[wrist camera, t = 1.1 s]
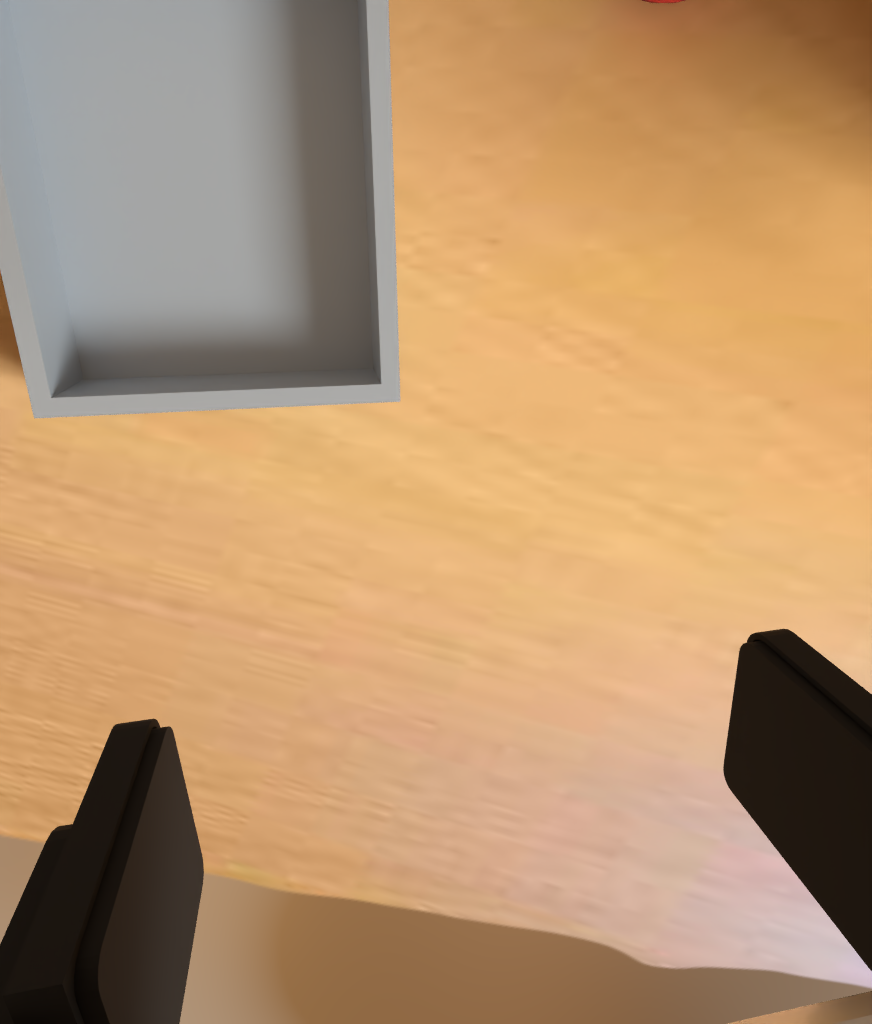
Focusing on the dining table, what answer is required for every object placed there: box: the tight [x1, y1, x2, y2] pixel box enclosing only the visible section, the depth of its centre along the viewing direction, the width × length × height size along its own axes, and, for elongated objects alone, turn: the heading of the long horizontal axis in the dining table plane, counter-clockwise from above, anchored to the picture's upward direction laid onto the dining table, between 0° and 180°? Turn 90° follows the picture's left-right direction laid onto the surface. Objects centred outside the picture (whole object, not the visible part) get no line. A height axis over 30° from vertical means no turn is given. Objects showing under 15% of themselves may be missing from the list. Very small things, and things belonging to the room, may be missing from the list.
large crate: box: [0, 0, 400, 418], centre depth 28 cm, size 15×18×5 cm
